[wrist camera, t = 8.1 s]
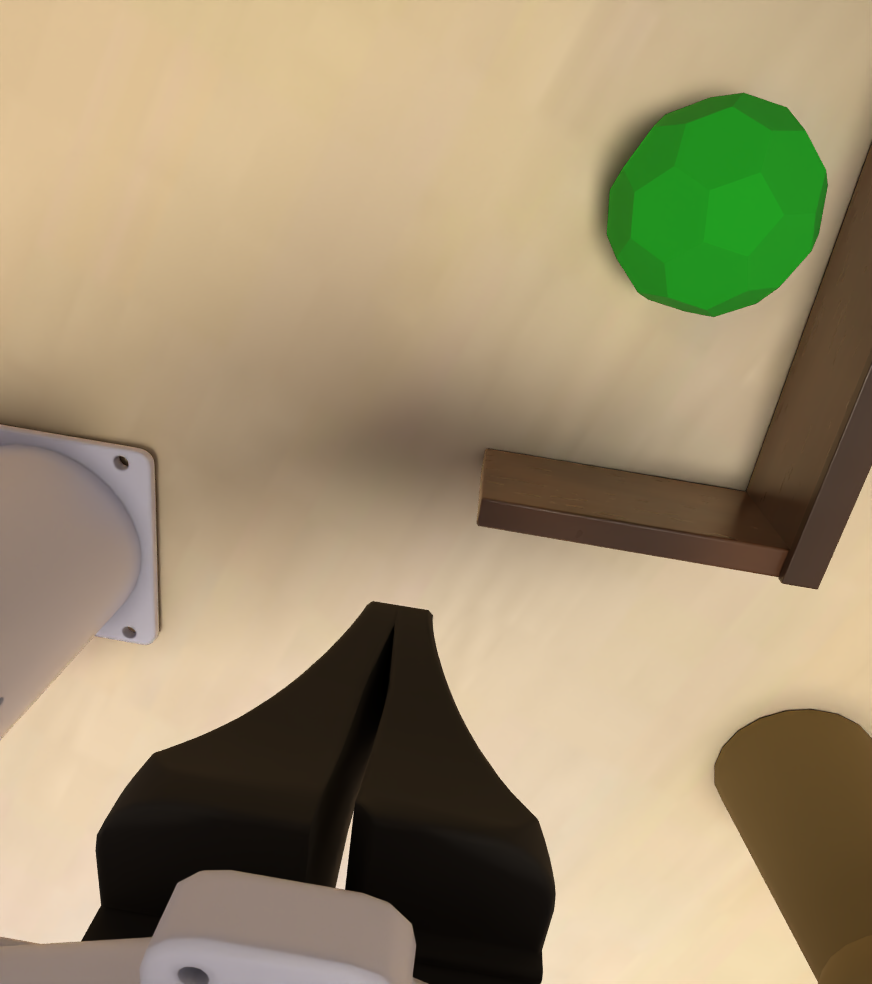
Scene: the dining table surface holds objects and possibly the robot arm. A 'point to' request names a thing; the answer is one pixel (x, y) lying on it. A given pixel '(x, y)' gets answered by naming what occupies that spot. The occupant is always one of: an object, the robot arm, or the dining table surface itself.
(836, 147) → the dining table surface
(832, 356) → the brown l-shaped bars
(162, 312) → the dining table surface
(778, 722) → the brown pawn piece
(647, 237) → the polyhedron
